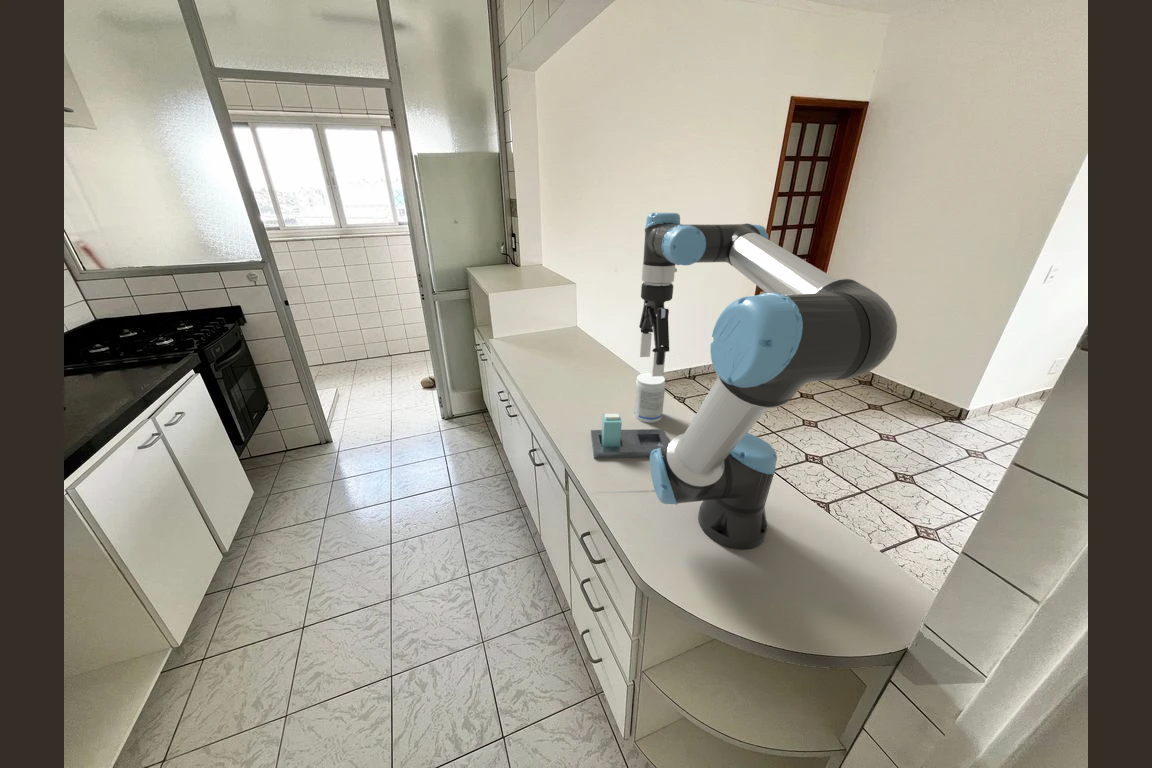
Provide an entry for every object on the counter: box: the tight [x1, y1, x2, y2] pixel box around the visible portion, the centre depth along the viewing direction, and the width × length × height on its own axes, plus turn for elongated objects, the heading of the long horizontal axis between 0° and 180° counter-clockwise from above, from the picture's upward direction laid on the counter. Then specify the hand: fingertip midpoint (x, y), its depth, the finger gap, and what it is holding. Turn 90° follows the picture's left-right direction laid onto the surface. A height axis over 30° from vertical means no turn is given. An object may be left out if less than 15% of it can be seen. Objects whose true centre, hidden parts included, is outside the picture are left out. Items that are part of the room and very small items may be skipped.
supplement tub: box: [633, 372, 666, 424], centre depth 138 cm, size 10×10×15 cm
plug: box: [601, 412, 622, 447], centre depth 122 cm, size 5×5×11 cm
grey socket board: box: [590, 428, 670, 459], centre depth 124 cm, size 12×23×2 cm, turn 92°
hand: (650, 365), depth 106 cm, fingers open, 13 cm apart
